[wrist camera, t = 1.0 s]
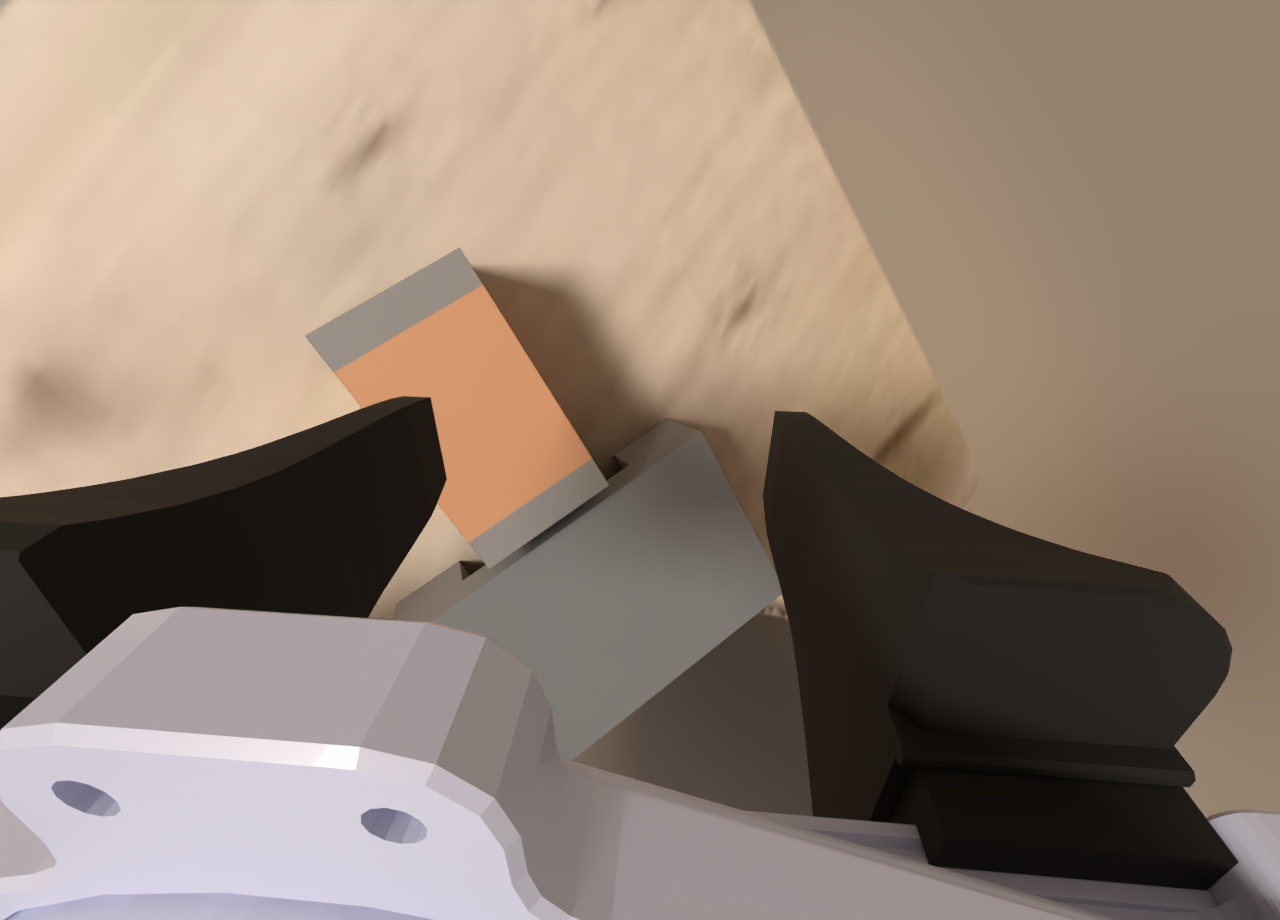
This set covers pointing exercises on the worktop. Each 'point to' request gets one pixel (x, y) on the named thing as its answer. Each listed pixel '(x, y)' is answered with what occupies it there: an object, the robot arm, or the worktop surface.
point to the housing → (467, 402)
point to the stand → (617, 586)
